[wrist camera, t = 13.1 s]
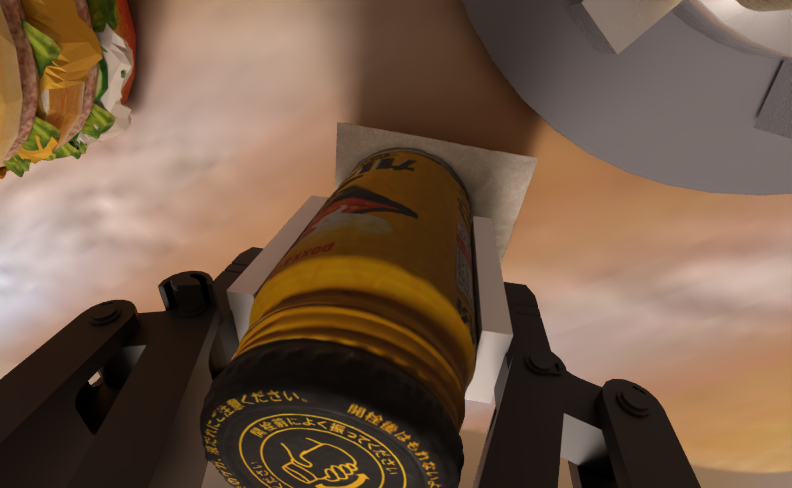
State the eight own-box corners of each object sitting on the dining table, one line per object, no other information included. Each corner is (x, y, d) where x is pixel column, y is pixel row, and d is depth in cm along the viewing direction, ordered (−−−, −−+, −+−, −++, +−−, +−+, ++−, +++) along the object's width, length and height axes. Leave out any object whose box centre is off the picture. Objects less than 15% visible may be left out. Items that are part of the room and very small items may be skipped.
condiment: (338, 121, 15) (99, 301, 5) (537, 157, 15) (712, 435, 5) (331, 260, 19) (185, 523, 9) (489, 292, 19) (526, 609, 8)
